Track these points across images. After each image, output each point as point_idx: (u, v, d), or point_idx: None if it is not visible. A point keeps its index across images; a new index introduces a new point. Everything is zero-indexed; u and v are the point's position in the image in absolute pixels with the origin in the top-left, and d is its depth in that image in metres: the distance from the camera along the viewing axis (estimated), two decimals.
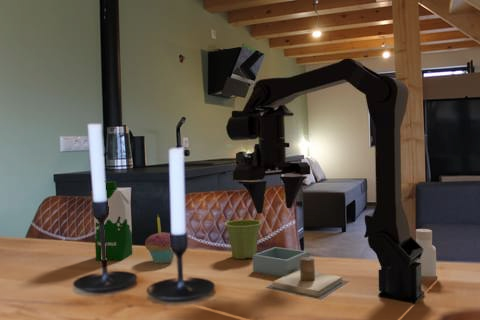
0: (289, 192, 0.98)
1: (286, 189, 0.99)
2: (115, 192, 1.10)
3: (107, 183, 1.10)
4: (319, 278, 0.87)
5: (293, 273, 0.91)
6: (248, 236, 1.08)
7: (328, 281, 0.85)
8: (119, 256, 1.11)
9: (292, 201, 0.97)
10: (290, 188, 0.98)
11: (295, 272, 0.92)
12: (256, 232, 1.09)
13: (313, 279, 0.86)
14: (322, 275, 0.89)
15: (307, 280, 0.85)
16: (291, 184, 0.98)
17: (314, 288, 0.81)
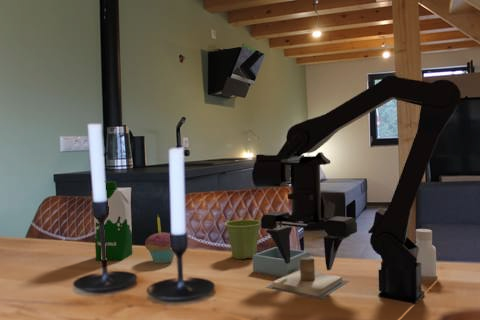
0: None
1: None
2: (115, 192, 1.10)
3: (107, 183, 1.10)
4: (319, 278, 0.87)
5: (293, 273, 0.91)
6: (248, 236, 1.08)
7: (328, 281, 0.85)
8: (119, 256, 1.11)
9: (326, 263, 0.83)
10: None
11: (295, 272, 0.92)
12: (256, 232, 1.09)
13: (313, 279, 0.86)
14: (322, 275, 0.89)
15: (307, 280, 0.85)
16: None
17: (314, 288, 0.81)
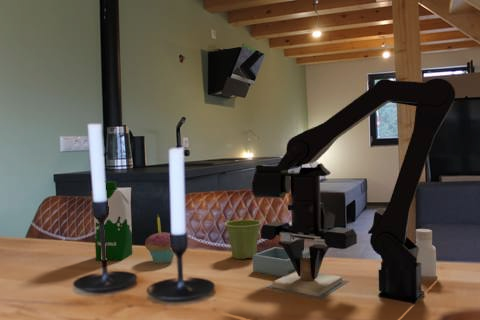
0: None
1: None
2: (115, 192, 1.10)
3: (107, 183, 1.10)
4: (319, 278, 0.87)
5: (293, 273, 0.91)
6: (248, 236, 1.08)
7: (328, 281, 0.85)
8: (119, 256, 1.11)
9: (312, 272, 0.85)
10: None
11: (295, 272, 0.92)
12: (256, 232, 1.09)
13: (313, 279, 0.86)
14: (322, 275, 0.89)
15: (307, 280, 0.85)
16: None
17: (314, 288, 0.81)
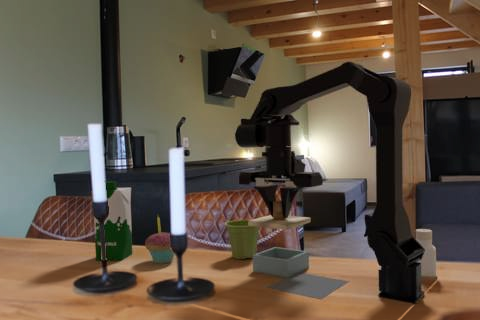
0: None
1: None
2: (115, 192, 1.10)
3: (107, 183, 1.10)
4: (290, 218, 0.97)
5: (268, 216, 1.01)
6: (248, 236, 1.08)
7: (298, 219, 0.96)
8: (119, 256, 1.11)
9: (283, 211, 0.95)
10: None
11: (270, 215, 1.02)
12: (256, 232, 1.09)
13: (284, 218, 0.96)
14: (293, 217, 0.99)
15: (279, 219, 0.96)
16: None
17: (284, 223, 0.91)
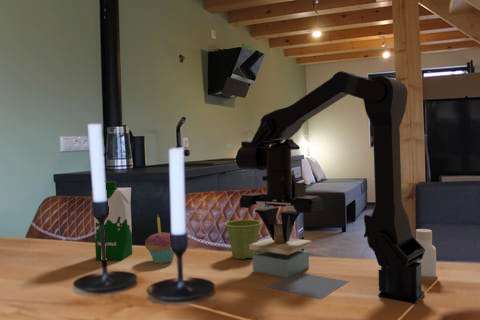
0: None
1: None
2: (115, 192, 1.10)
3: (107, 183, 1.10)
4: (291, 241, 0.98)
5: (269, 238, 1.01)
6: (248, 236, 1.08)
7: (299, 243, 0.96)
8: (119, 256, 1.11)
9: (284, 235, 0.95)
10: None
11: (271, 238, 1.02)
12: (256, 232, 1.09)
13: (285, 242, 0.96)
14: (294, 240, 1.00)
15: (280, 243, 0.96)
16: None
17: (285, 248, 0.92)
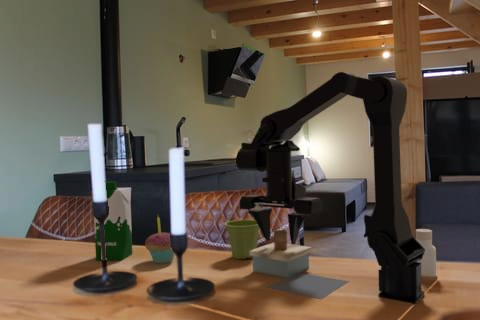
0: None
1: None
2: (115, 192, 1.10)
3: (107, 183, 1.10)
4: (291, 248, 0.98)
5: (269, 245, 1.02)
6: (248, 236, 1.08)
7: (299, 250, 0.96)
8: (119, 256, 1.11)
9: (291, 237, 0.94)
10: None
11: (271, 244, 1.02)
12: (256, 232, 1.09)
13: (285, 248, 0.96)
14: (294, 246, 1.00)
15: (280, 249, 0.96)
16: None
17: (285, 255, 0.92)
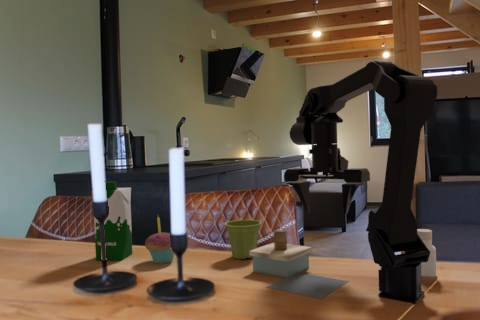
0: None
1: None
2: (115, 192, 1.10)
3: (107, 183, 1.10)
4: (291, 248, 0.98)
5: (269, 245, 1.02)
6: (248, 236, 1.08)
7: (299, 250, 0.96)
8: (119, 256, 1.11)
9: (344, 208, 0.95)
10: None
11: (271, 244, 1.02)
12: (256, 232, 1.09)
13: (285, 248, 0.96)
14: (294, 246, 1.00)
15: (280, 249, 0.96)
16: None
17: (285, 255, 0.92)
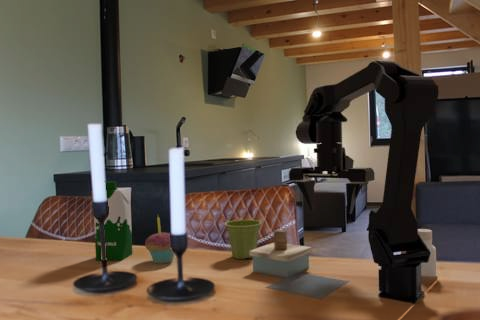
0: None
1: None
2: (115, 192, 1.10)
3: (107, 183, 1.10)
4: (291, 248, 0.98)
5: (269, 245, 1.02)
6: (248, 236, 1.08)
7: (299, 250, 0.96)
8: (119, 256, 1.11)
9: (348, 207, 0.96)
10: None
11: (271, 244, 1.02)
12: (256, 232, 1.09)
13: (285, 248, 0.96)
14: (294, 246, 1.00)
15: (280, 249, 0.96)
16: None
17: (285, 255, 0.92)
